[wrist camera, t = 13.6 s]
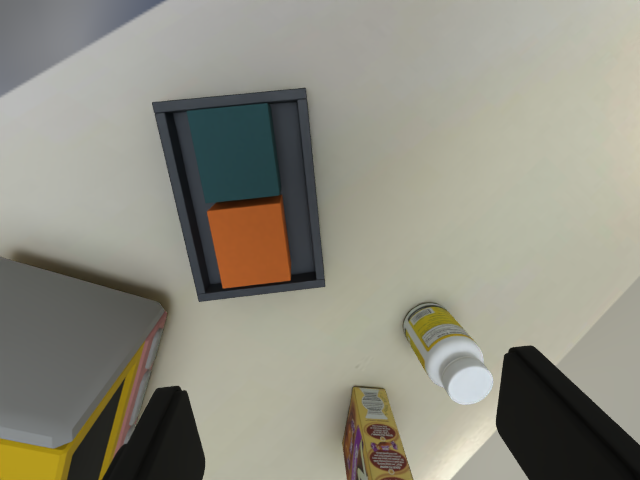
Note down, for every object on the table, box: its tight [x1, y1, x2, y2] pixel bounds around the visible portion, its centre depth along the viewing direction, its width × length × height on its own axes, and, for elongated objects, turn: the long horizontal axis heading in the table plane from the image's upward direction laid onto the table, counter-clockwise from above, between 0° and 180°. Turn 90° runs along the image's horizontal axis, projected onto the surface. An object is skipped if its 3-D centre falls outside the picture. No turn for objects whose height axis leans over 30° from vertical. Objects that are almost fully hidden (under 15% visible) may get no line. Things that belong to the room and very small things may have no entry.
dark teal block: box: [186, 103, 281, 203], centre depth 28 cm, size 7×6×4 cm
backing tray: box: [152, 88, 325, 302], centre depth 30 cm, size 18×12×3 cm
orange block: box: [207, 195, 291, 288], centre depth 30 cm, size 7×6×4 cm
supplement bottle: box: [404, 303, 493, 405], centre depth 33 cm, size 5×5×10 cm
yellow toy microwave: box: [0, 257, 168, 480], centre depth 26 cm, size 20×16×18 cm
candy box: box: [342, 387, 413, 480], centre depth 33 cm, size 9×4×15 cm, turn 173°
